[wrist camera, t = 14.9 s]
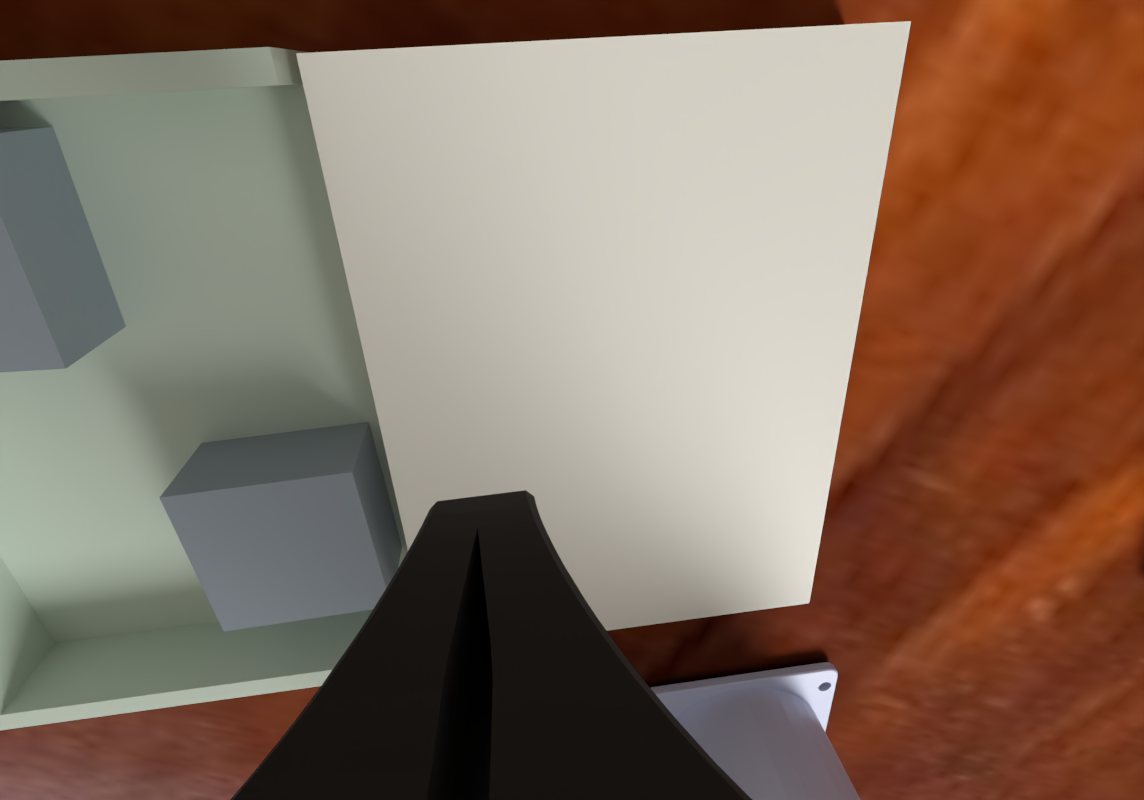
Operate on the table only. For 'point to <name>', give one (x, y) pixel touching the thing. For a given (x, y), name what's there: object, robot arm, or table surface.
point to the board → (617, 288)
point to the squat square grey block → (287, 524)
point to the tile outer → (47, 260)
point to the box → (169, 378)
